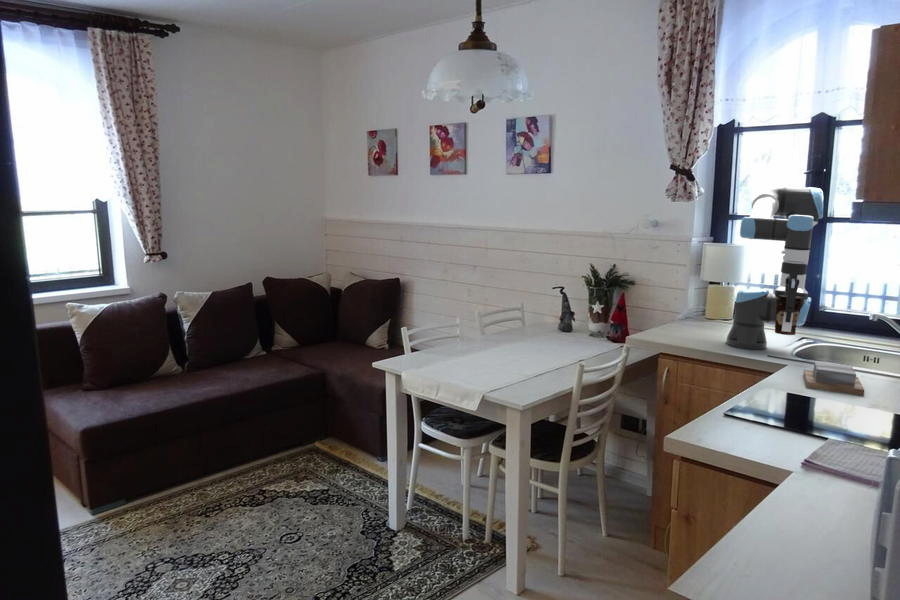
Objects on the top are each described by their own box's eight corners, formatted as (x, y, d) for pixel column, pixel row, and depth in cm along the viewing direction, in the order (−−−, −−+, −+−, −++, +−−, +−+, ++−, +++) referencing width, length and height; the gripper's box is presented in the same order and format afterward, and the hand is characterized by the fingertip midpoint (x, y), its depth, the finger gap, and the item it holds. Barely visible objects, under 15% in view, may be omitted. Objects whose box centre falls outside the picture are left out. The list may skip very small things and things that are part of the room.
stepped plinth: (803, 374, 226) (805, 358, 225) (856, 382, 220) (859, 365, 218) (806, 387, 212) (809, 369, 211) (863, 396, 205) (866, 377, 204)
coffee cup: (802, 337, 214) (808, 299, 212) (775, 335, 216) (780, 297, 213) (794, 331, 223) (799, 294, 220) (768, 329, 224) (773, 292, 222)
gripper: (781, 257, 225) (773, 321, 230) (783, 264, 207) (773, 333, 211) (805, 259, 222) (796, 324, 227) (809, 266, 204) (799, 336, 208)
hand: (785, 328), depth 219 cm, fingers closed on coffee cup, 8 cm apart
